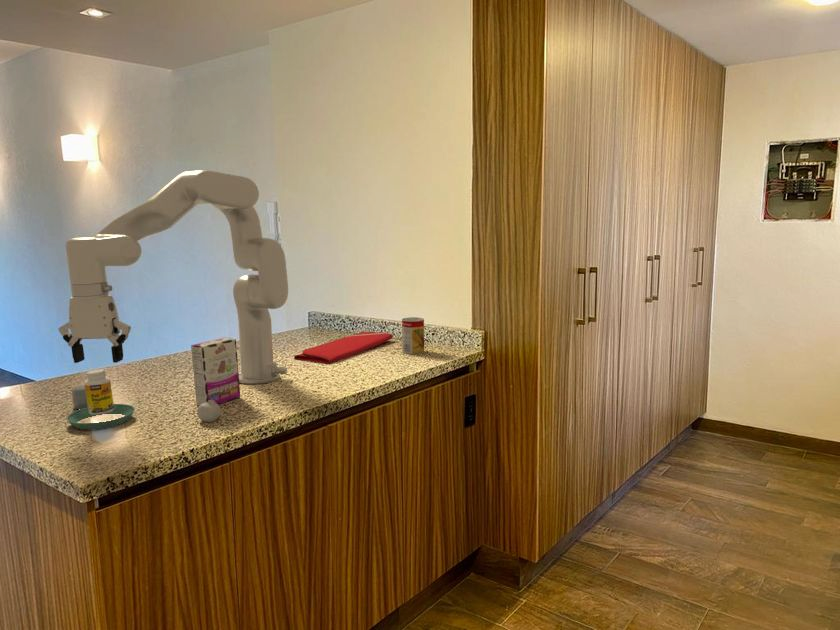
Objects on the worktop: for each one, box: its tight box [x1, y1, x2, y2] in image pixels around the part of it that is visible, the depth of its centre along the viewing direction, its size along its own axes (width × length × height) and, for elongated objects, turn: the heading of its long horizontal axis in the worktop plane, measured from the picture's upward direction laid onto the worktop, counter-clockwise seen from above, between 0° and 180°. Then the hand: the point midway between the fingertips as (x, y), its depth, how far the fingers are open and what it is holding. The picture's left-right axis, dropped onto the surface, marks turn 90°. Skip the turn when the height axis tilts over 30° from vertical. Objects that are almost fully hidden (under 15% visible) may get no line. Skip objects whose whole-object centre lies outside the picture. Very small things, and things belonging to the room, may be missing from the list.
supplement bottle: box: [83, 368, 115, 415], centre depth 148 cm, size 6×6×10 cm
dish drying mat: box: [293, 331, 394, 365], centre depth 226 cm, size 16×41×4 cm, turn 151°
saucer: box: [66, 403, 136, 430], centre depth 149 cm, size 15×15×3 cm
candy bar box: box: [190, 337, 241, 407], centre depth 163 cm, size 11×5×16 cm, turn 148°
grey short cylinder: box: [71, 384, 88, 410], centre depth 162 cm, size 7×7×5 cm
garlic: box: [196, 400, 222, 423], centre depth 149 cm, size 6×5×5 cm
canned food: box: [401, 316, 425, 356], centre depth 220 cm, size 8×8×12 cm
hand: (98, 361), depth 148 cm, fingers open, 9 cm apart
